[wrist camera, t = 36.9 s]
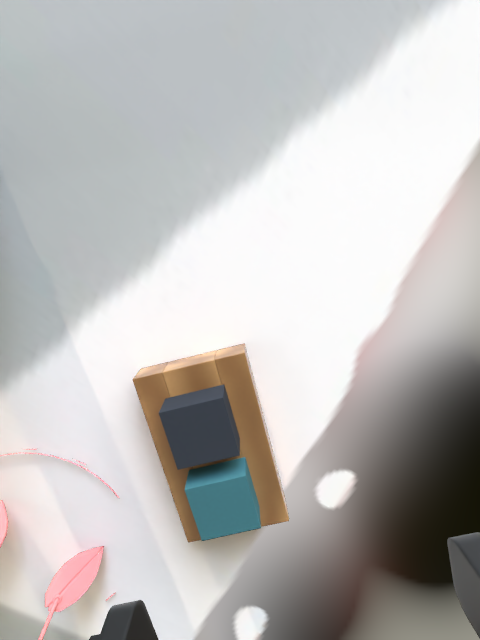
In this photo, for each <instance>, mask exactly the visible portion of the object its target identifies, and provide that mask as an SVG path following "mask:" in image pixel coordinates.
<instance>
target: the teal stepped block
mask: <svg viewBox="0 0 480 640" xmlns="http://www.w3.org/2000/svg"><path fill="white" fill-rule="evenodd" d="M185 493H186V496H187V499H188V502H189V505H190V508H191V511H192V514H193V516H194V519H195V522H196V525H197V528H198V531H199V534H200V537H201V540H202V541H204V540H209V539H213V538H218V537H222V536H227V535H232V534H236V533H241V532H245V531H250V530H254V529H259V528H261V521H260V507H259V503H258V499H257V496H256V492H255V489H254V485H253V482H252V478H251V475H250V472H249V468H248V465H247V461H246V458H245V457H243V458H239V459H234V460H230V461H226V462H221V463H217V464H213V465H209V466H204V467H200V468H196V469H191V470H189V472H188V476H187V481H186V485H185Z"/></svg>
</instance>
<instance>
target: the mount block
mask: <svg viewBox="0 0 480 640" xmlns="http://www.w3.org/2000/svg"><path fill="white" fill-rule="evenodd" d="M133 382H134V385H135V388H136V391H137V394H138V397H139V400H140V403H141V406H142V408H143V411H144V414H145V417H146V420H147V423H148V426H149V429H150V432H151V435H152V438H153V441H154V444H155V447H156V449H157V452H158V455H159V458H160V461H161V464H162V467H163V470H164V473H165V476H166V479H167V482H168V485H169V487H170V490H171V493H172V496H173V499H174V502H175V505H176V508H177V511H178V514H179V517H180V520H181V523H182V526H183V528H184V531H185V534H186V537H187V540H188V542H193V541H198V540H201V537H200V534H199V531H198V528H197V525H196V522H195V519H194V516H193V514H192V511H191V508H190V505H189V502H188V499H187V496H186V493H185V485H186V481H187V476H188V472H189V470H191V469H196V468H200V467H204V466H209V465H213V464H217V463H221V462H226V461H230V460H234V459H239V458H243V457H245V458H246V461H247V465H248V468H249V472H250V475H251V478H252V482H253V485H254V489H255V492H256V496H257V499H258V503H259V507H260V521H261V527H262V526H267V525H272V524H277V523H281V522H286V521H289V517H288V511H287V505H286V500H285V496H284V492H283V488H282V485H281V481H280V477H279V473H278V469H277V465H276V462H275V458H274V454H273V450H272V446H271V443H270V439H269V435H268V431H267V427H266V423H265V420H264V416H263V412H262V408H261V404H260V401H259V397H258V393H257V389H256V385H255V381H254V378H253V374H252V370H251V366H250V362H249V359H248V355H247V351H246V347H245V344H241V345H236V346H232V347H228V348H224V349H220V350H217V351H212V352H208V353H204V354H200V355H196V356H191V357H187V358H183V359H179V360H175V361H171V362H166V363H162V364H158V365H154V366H150V367H146V368H142V369H140V371H139V372H138V373H137V375H136V376H135V377H134V379H133ZM223 384H224V385H225V388H226V392H227V395H228V399H229V402H230V406H231V409H232V412H233V416H234V419H235V423H236V426H237V430H238V433H239V437H240V456H236V457H232V458H227V459H223V460H219V461H214V462H210V463H206V464H201V465H197V466H193V467H188V468H184V469H180V470H178V469H177V466H176V463H175V460H174V457H173V454H172V451H171V448H170V446H169V443H168V440H167V437H166V434H165V431H164V428H163V425H162V422H161V419H160V416H159V411H160V409H161V407H162V405H163V402H164V400H165V399H166V398H170V397H174V396H178V395H182V394H186V393H190V392H195V391H199V390H203V389H207V388H211V387H215V386H219V385H223Z"/></svg>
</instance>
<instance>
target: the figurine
mask: <svg viewBox="0 0 480 640" xmlns="http://www.w3.org/2000/svg"><path fill="white" fill-rule="evenodd" d="M28 450H37V449H28ZM13 454H19V453H13ZM25 454H40V453H25ZM5 455H10V454H5ZM41 455H46V454H41ZM1 456H3V455H1ZM47 456H52V455H47ZM53 457H56V456H53ZM56 458H59V457H56ZM59 459H62V458H59ZM62 460H66V459H62ZM74 460H75V459H74ZM66 461H69V460H66ZM76 461H77V460H76ZM69 462H71V461H69ZM78 462H80V461H78ZM71 463H73V462H71ZM80 463H82V462H80ZM73 464H75V465H77V466H80V465H78V464H76V463H73ZM83 464H85V463H83ZM85 465H86V464H85ZM80 467H82V466H80ZM82 468H84V467H82ZM84 469H85V470H87V469H86V468H84ZM87 471H89V470H87ZM89 472H90V471H89ZM90 473H92V472H90ZM92 474H93V475H95V474H94V473H92ZM95 476H96V477H98V476H97V475H95ZM98 478H99V477H98ZM99 479H100V478H99ZM100 480H101V481H102V482H104V481H103V480H102V479H100ZM104 483H105V482H104ZM105 484H106V483H105ZM106 485H107V484H106ZM107 486H108V487H109V488H110V489H111V487H110V486H109V485H107ZM111 490H112V489H111ZM112 491H113V490H112ZM113 492H114V491H113ZM114 493H115V492H114ZM115 495H116V496H117V497H118V495H117V494H116V493H115ZM118 498H119V497H118ZM7 528H8V518H7V513H6V508H5V505H4V503H3V501H2V500H1V501H0V547H1V545H2V543H3V541H4V539H5V537H6V535H7ZM103 548H104V546H102V547H96V548H93V549H90V550H87V551H84V552H81V553H78V554H77V555H75V556H74V557H73V558H71V559H70V560H69V561H67V562H66V563H65V564H64V565H63V566H62V567H61V568H60V570H59V571H58V572H57V573H56V574H55V576H54V577H53V579H52V581H51V583H50V585H49V587H48V589H47V591H46V593H45V607H49V609H48V611H50V613H49V615H48V618H47V620H46V622H45V625H44V627H43V629H42V632H41V634H40V636H39V639H38V640H42V639H43V637H44V635H45V632H46V630H47V627H48V625H49V623H50V620H51V618H52V615H53V613H54V611H56V612H60V611H62V610H63V609H65V608H67V607H68V606H70V605H72V604H73V603H75V602H76V601H77V600H78V599H79V598H80V597H81V596H82V595H83V594H84V593H85V592H86V591H87V590H88V588H89V587H90V585H91V583H92V582H93V580H94V578H95V577H96V575H97V573H98V569H99V566H100V562H101V559H102V554H103ZM101 549H102V550H101ZM100 550H101V551H100ZM98 553H99V554H98ZM115 593H116V592H115ZM115 593H114V594H115ZM114 594H113V595H114ZM113 595H112V596H113ZM110 597H111V596H110ZM110 597H109V598H110ZM109 598H108V599H109ZM108 599H107V600H108Z"/></svg>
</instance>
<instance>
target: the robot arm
mask: <svg viewBox="0 0 480 640" xmlns="http://www.w3.org/2000/svg"><path fill="white" fill-rule="evenodd" d="M447 543H448V550H449V557H450V564H451V570H452V577H453V583H454V588H455V591H456V594H457V597H458V599H459V602H460V604H461V607H462V609H463V610H464V612H465V614H466V616H467V618H468V620H469V621H470V623H471V625H472V626H473V628H474V630H475V631H476V633H477V635H478V636H479V638H480V533H479V532H476V533H471V534H466V535H461V536H456V537H451V538H448V541H447ZM89 640H158V637H157V635H156V632H155V630H154V627H153V625H152V622H151V620H150V617H149V614H148V612H147V609H146V607H145V604H144V603H143V601H141V600H139V601H134V602H129V603H124V604H119V605H114V606H112V607H111V608H110V610H109V612H108V614H107V617H106V620H105V622H104V625H103V628H102V631H101V634H99V635H94V636H91V637H90V639H89Z"/></svg>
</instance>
